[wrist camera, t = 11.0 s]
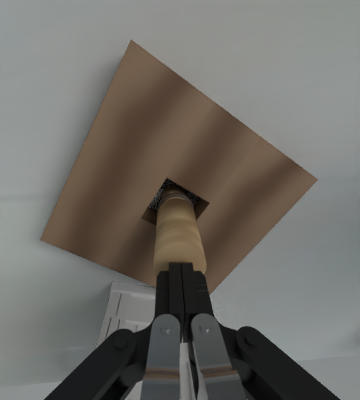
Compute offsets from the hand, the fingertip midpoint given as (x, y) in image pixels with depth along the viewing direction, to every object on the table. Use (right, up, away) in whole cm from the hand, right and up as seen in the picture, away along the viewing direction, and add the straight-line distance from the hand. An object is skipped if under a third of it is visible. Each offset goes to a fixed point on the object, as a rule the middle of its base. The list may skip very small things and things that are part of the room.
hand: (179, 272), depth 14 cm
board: (-1, +5, +10) cm, 11 cm away
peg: (-1, +5, +10) cm, 11 cm away
